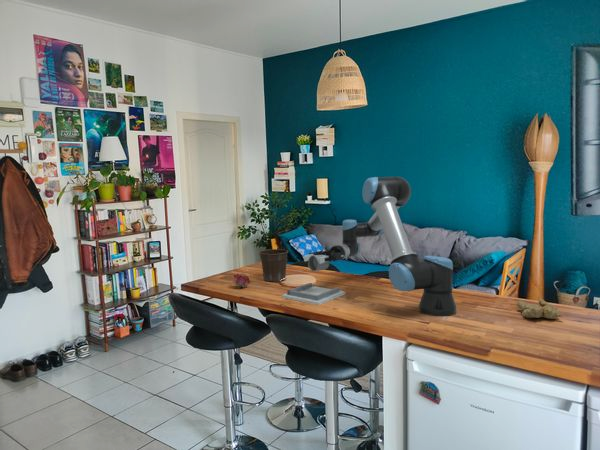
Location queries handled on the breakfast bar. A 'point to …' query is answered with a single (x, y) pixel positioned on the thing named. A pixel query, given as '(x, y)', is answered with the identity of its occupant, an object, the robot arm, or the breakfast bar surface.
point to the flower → (241, 280)
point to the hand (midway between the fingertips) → (312, 259)
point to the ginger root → (539, 310)
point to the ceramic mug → (317, 263)
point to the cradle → (313, 294)
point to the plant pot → (274, 264)
